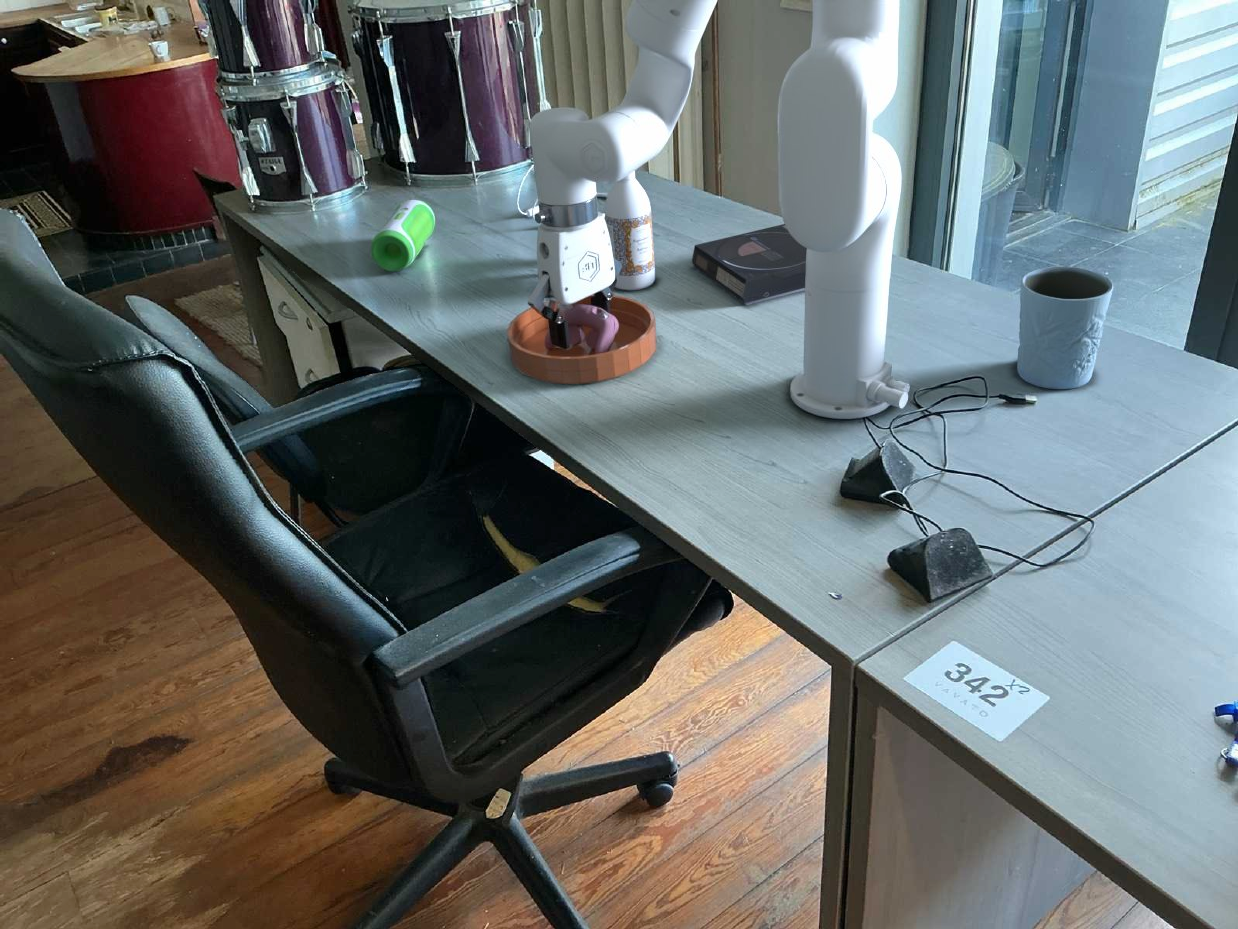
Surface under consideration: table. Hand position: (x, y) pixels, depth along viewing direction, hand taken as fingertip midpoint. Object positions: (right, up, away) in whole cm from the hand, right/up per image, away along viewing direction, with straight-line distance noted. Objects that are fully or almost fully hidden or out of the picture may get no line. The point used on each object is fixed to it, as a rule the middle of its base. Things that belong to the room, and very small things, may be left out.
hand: (581, 334), depth 142 cm
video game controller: (0, -2, +1) cm, 2 cm away
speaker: (-31, +18, +38) cm, 53 cm away
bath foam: (+7, +11, +20) cm, 24 cm away
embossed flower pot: (+59, -7, -14) cm, 61 cm away
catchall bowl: (0, -2, +1) cm, 2 cm away
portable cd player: (+28, +11, +19) cm, 35 cm away
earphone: (-3, +29, +50) cm, 57 cm away
